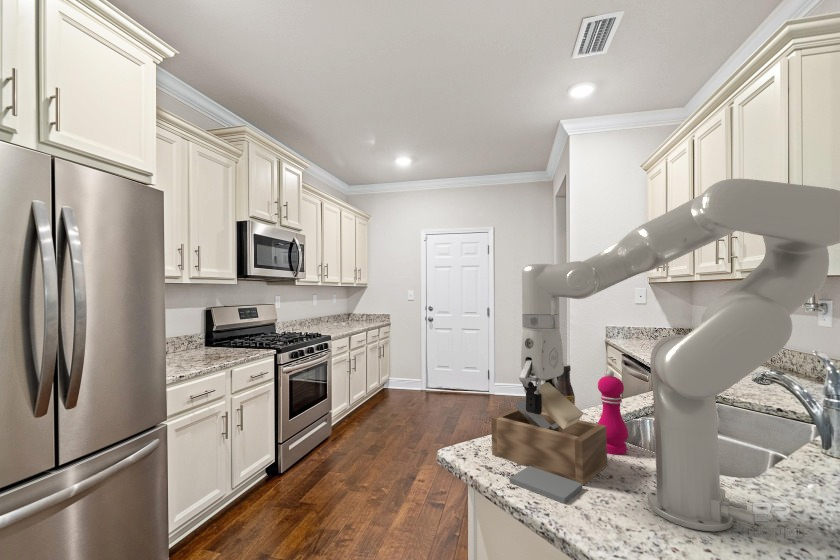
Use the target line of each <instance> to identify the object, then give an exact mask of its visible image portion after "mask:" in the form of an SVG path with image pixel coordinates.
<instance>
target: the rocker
mask: <svg viewBox="0 0 840 560" xmlns="http://www.w3.org/2000/svg"><path fill="white" fill-rule="evenodd" d="M513 407H515V409H516V408H517V409H518V410H519V411H520V412H521V413H522V414H523V415H524V416H525V417H526V418H527V419H528V420H529V421H530V422H531V423H532V424H533V425H534V426H538V427H542V428H546V429H549V430H553V431H557V432H560V431H558V429H559V428H560V426H559V425H558V424H557V423H555V424H553V425H550V424H549V423H548V422H547V421H546V420H545V419H544V418H543V417H542V416H541V415H538V414H534V413H530V412H527V411H526V399H523V400H520V401H517V402H515V403H514V406H513Z"/></svg>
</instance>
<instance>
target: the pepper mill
mask: <svg viewBox="0 0 840 560" xmlns="http://www.w3.org/2000/svg"><path fill="white" fill-rule="evenodd" d="M605 374H606V375H604V376H602V377H600V379H599V380H598V382H597V389H598V391H599V392H600V393H601V394H600V396H599V397H600V399H599V401H600V402H601V403H602V411H601V415H600V418H599V420H598V422H597V424H600V425H604V426H606V439H607V454H609V455H615V456H617V455H620V456H621V455H625V454H626V453H627V450H628V449H627V444H626V441H627V440H628V438H629V429H628V427H627V425H626V423H625V421H624V418H623V417H622V414H621V404H622V403H623V400H622V399H623V397H622V394H623V393H624V391H625V386H624V384H623V383H624V382H623V381H622V380H621V379H620V378H618V377H616V376H614V375H615V372H614V371H613V370H611V369H608V370H607V371H606V373H605Z"/></svg>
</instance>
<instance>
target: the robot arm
mask: <svg viewBox="0 0 840 560" xmlns="http://www.w3.org/2000/svg"><path fill="white" fill-rule="evenodd" d="M735 232H740V233H741V232H742V233H746V234H751V235H757V236H762V239H763V241H764V246H765V254H764V257H763V259H762V261H761V262H760V263H759V264H758V265H757V266H756V267H755V268H754V269H753V270H752V271H751V272H750V273H749V274H748V275H746V276H745V277H744V278H743V279H741V280H740V281H739V282H738V283H737V284H735V285H733V286H732V287H731V288H730V289H728V290H727V291H726V292H725V293H724V294H722V295H721V296H719V297H717V298H716V299H714V301H711V302H710V303H709V305H707V307H705V309H704V311H703V313H702V315H701V321H700V323H699V325H697V326H696V327H695V328H694V329H692V330H691V331H690V332H688V333H687V334H686V335H685V334H671V335H668V336H665V337H663V338H661V339H660V340H659V341H657V343H655V345H654V346H653V348H652V351H651V353H650V361H649V362H650V365H649V366H650V375H651V385H652V396H653V397H652V398H653V399H652V400H653V418H654V419H653V424H654V425H653V426H654V446H655V447H654V448H655V473H656V475H655V476H656V488H655V489H653V490H651V491H649V492H648V494H647V504H648V506H649V507H650V509H651V510H652V511H653V512H655V514H657V515H658V516H660V517H662V518H663V519H665V520H667V521H669V522H671V523H673V524H676V525H679V526H681V527H685V528H688V529H693V530H697V531H704V532H722V531H726V530H729V529H730V528H732V526H733V525H734V519H735V520H739V521H740V522H742V523H746V524H749V525H752V526H754V525H756V523H755V522H756V513H755V511H752V510H748V505H747V504H742V503H740V502H735V501H731V500H730V498H728V497H726V489H723V488H721V479H720V478H721V477H720V459H719V458H720V457H719V456H720V454H719V434H718V433H719V431H718V429H719V426H718V423H719V422H718V411H717V410H718V409H717V403H716V402H717V400H716V396H718V395H720V394H722V393H724V392H725V391H727V390H729V389H730V388H732V387H734V385H736V384H737V383H739V382H740V381H742V380H743V379H745V378H746V377H747V376H748V375H750V374H752V373H753V372H754V371H756V370H757V369H758V368H759V367H761V366H763V365H764V364H765V363H767V362H768V361H769V360H771V359H772V358H774V357H775V356H776V355H777V354H779V353H780V352H781V351H782V350H783V349H784V347H786V345H787V344H788V342H789V340H790V339H791V336H792V334H793V321H792V317H791V316H792V315H793V314H794V313H795V312H796V311H797V310H798V309H800V308H801V307H802V306H803V305H804V304H806V303H808V301H810V299H812V298H813V297H814V296H815V295H816V294H817V293H818V292H819V291H820V290H821V289H822V287H823V285H824V284H825V282H826V280H827V278H828V273H829V266H830V259H829V258H830V257H829V255H830V254H829V249H828V247H831V246H834V245H838V244H840V190H838V189H835V188H830V187H823V186H816V185H807V184H805V185H804V184H798V183H797V184H796V183H789V182H788V183H787V182H780V181H779V182H778V181H772V180H762V179H761V180H760V179H753V178H752V179H750V178H728V179H723V180H720V181H717V182H715V183H713V184H712V185H710V186H709V187H708V188H706V190H704V192H703V193H701V194H700V195H697V196H695V198H693V199H690V200H689V201H687V202H685V203H683V204H681V205H679V206H676V207H675V208H673V209H671V210H669V211H667V212H665V213H662V214H661V215H660V216H657V217H655V218H653V219H651V220H648V221H647V222H645V223H643V224H640V225H639V226H638V227H635V228H634V229H632V230H631V231H629V232H628V233H627V234H626V235H625V236H624V237H623V238H621V239H620V240H619V241H617V242H616V243H614V244H613V245H612V246H609V247H608V248H606V249H604V250H603V251H600V252H599V253H597V254H595V255H593V256H591V257H589V258H587V259H585V260H583V261H582V260H581V261H580V260H577V261H576V260H575V261H569V262H563V263H556V264H551V263H535V264H528V265H525V266H524V267H523V268H522V270H521V308H522V309H521V310H522V311H521V314H522V316H521V323H522V324H521V326H522V327H521V328H522V330H523V332H522V338H521V349H520V350H521V351H520V370H521V372H520V374H519V377H518V379H519V381H520V382H521V384H522V387H523V388H524V390H523V391H524V393H525V401H526V411H527V412H530V413H534V414H538V415H540V414H541V413H542V412H543V411H542V410H543V409H542V405H541V394H539V391H540V386H541V384H544V383H547V382H549V383H550V384H551V385H552V386H553V387H554V388H556V389H557V388H558V379H559V376H560V375H562V374H563V372H564V365H563V364H564V354H563V353H564V352H563V351H564V350H563V342H562V341H563V340H562V335H561V329H560V327H561V326H560V325H561V320H560V319H561V318H560V316H561V315H560V298H568V299H574V300H584V299H586V298H590V297H591V296H593V295H594V296H595V295H596V294H598V293H600V292H602V291H604V290H607V289H609V288H611V287H613V286H615V285H617V284H619V283H621V282H623V281H626V280H628V279H630V278H632V277H634V276H637V275H640V274H644V273H647V272H650V271H653V270H655V269H657V268H660V267H662V266H664V265H666V264H668V263H670V262H671V263H672V262H673V261H674V260H677V259H679V258H681V257H683V256H686V255H687V254H690V253H692V252H695V251H697V250H699V249H700V248H703V247H706V246H707V245H710V244H712V243H713V242H717V241H718V240H721V239H722V238H724V237H727V236H729V235H731V234H733V233H735ZM533 382H534V383H535V384H534V383H533Z"/></svg>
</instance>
